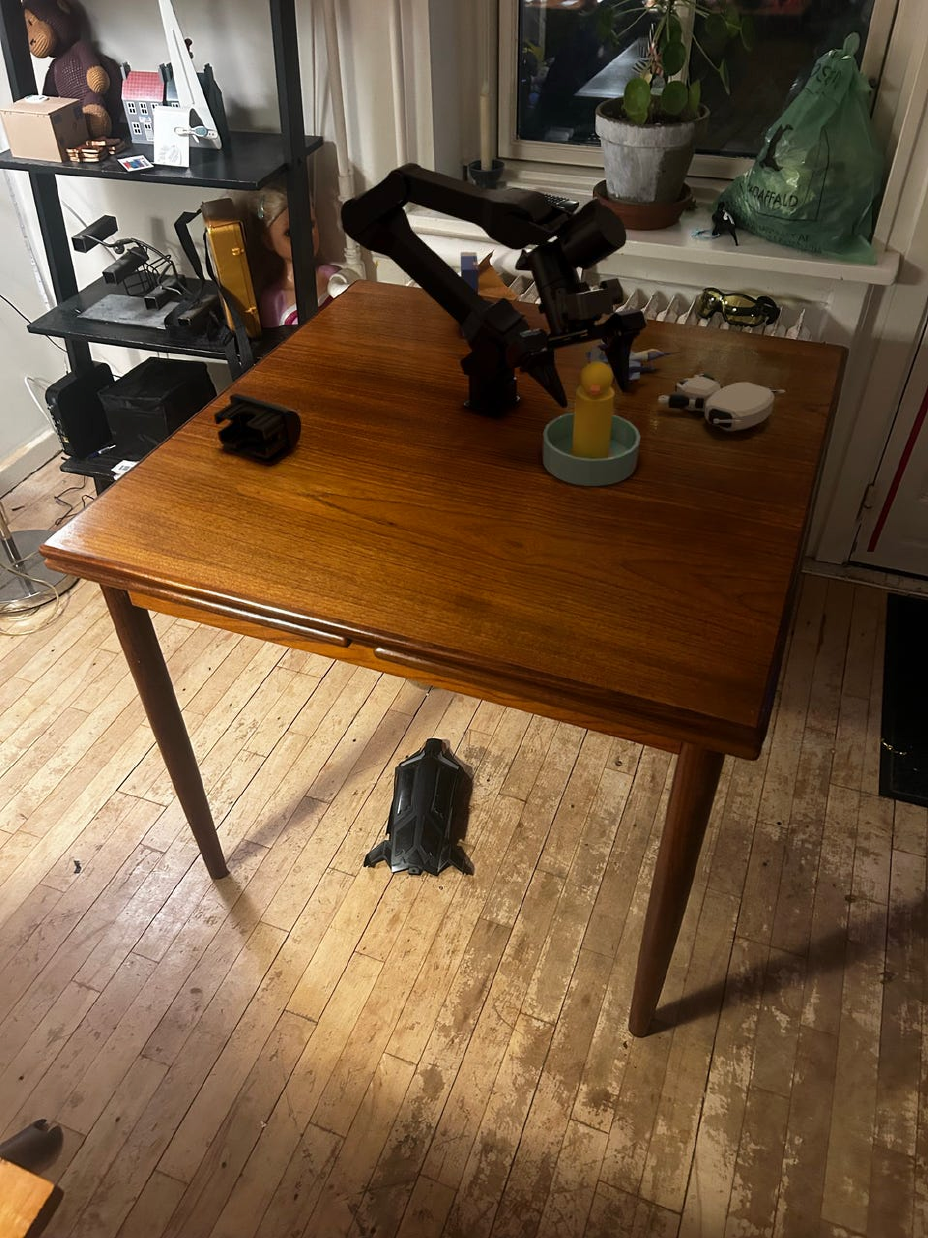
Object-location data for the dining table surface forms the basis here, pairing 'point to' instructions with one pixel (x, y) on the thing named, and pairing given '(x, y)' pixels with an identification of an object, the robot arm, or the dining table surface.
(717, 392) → the robot toy
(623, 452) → the pan
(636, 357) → the toy airplane
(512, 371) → the robot arm
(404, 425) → the dining table surface
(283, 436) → the end cap
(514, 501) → the dining table surface
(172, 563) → the dining table surface
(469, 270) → the walkman
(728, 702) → the dining table surface
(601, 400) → the duck toy
